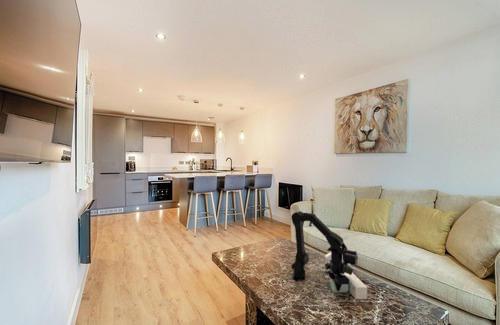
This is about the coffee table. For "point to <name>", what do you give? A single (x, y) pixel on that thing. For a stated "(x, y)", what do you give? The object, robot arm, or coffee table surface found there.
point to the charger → (343, 288)
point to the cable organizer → (328, 258)
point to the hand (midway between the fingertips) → (336, 288)
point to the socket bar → (356, 287)
